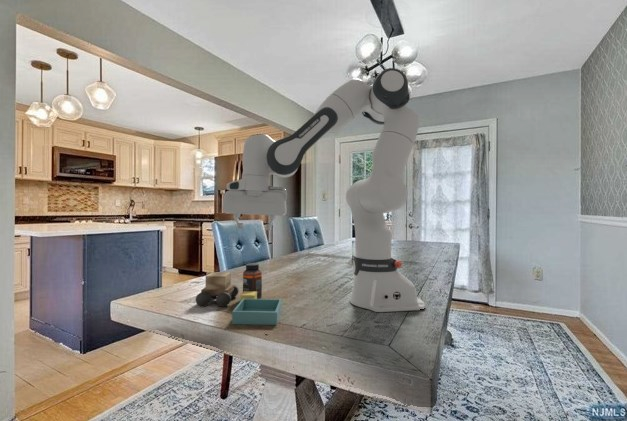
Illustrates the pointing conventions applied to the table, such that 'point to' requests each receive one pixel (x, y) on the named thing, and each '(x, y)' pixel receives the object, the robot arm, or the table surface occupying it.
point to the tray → (257, 311)
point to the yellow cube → (249, 295)
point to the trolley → (217, 289)
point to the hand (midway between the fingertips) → (253, 229)
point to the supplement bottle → (253, 279)
